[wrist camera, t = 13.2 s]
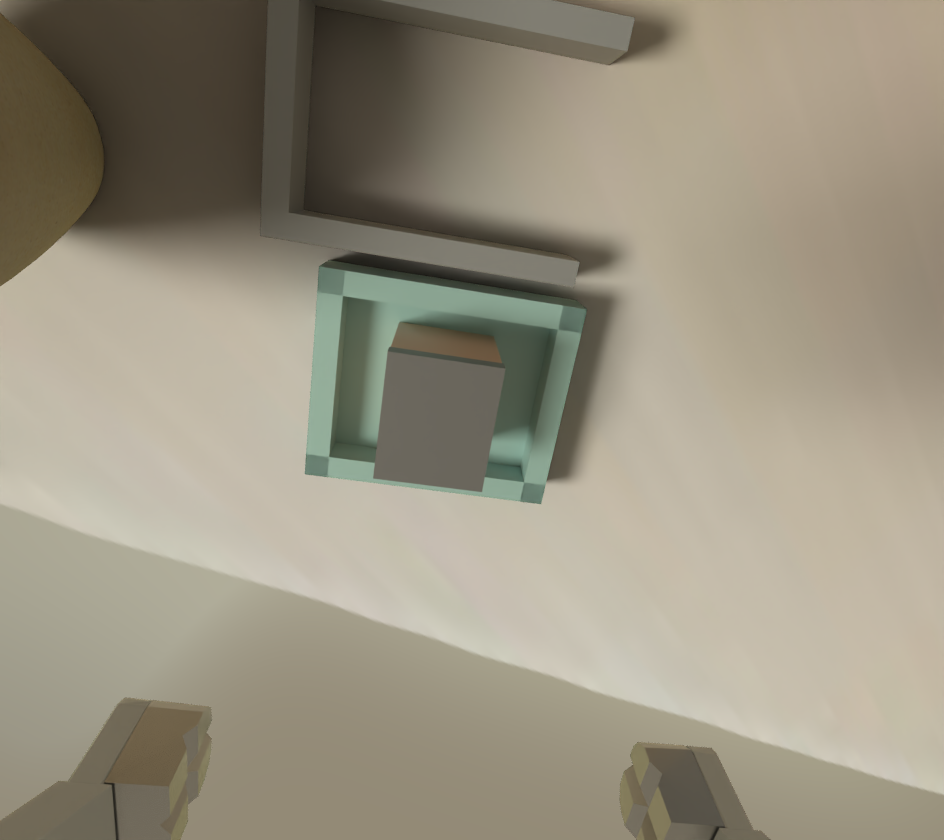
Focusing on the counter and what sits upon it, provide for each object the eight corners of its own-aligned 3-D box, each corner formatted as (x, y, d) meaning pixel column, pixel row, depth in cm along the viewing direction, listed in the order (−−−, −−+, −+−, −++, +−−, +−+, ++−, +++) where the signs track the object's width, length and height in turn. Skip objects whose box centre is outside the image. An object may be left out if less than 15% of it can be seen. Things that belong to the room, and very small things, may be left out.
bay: (277, 231, 29) (260, 235, 26) (289, -33, 25) (269, -61, 22) (562, 278, 31) (573, 287, 28) (615, 35, 27) (634, 17, 24)
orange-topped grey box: (385, 427, 33) (373, 478, 27) (398, 320, 31) (387, 351, 25) (475, 439, 33) (482, 492, 28) (494, 335, 31) (505, 368, 25)
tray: (314, 454, 34) (304, 474, 31) (328, 260, 30) (319, 266, 28) (534, 482, 35) (541, 504, 33) (576, 300, 31) (587, 309, 29)
